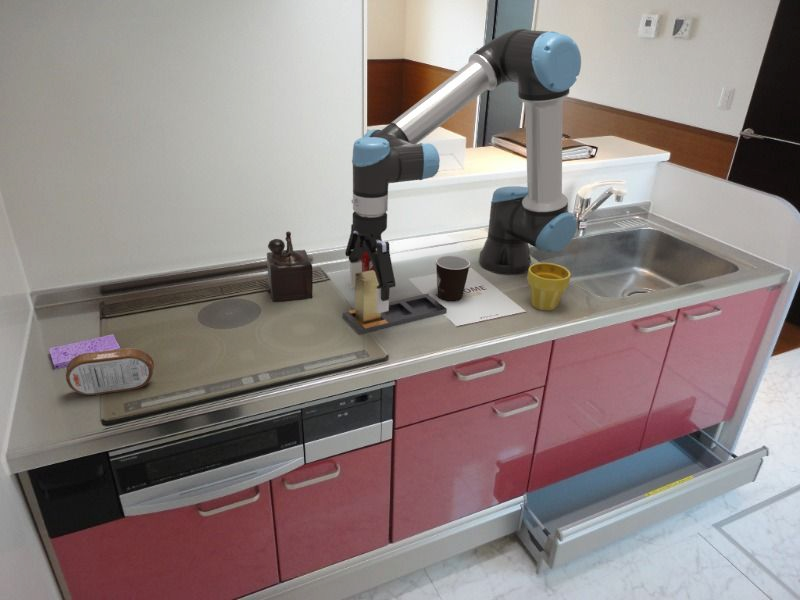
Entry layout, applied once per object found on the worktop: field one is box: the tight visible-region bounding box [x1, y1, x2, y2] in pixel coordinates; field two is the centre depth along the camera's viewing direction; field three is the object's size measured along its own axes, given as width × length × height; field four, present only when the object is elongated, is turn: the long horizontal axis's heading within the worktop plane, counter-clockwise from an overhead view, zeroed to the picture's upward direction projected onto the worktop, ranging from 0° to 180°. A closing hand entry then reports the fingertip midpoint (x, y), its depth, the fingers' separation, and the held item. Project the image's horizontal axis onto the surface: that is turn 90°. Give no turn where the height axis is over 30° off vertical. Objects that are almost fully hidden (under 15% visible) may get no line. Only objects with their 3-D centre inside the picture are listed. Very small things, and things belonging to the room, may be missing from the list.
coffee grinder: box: [266, 231, 314, 302], centre depth 146 cm, size 16×11×18 cm
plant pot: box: [527, 262, 571, 311], centre depth 150 cm, size 10×10×10 cm
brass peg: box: [354, 270, 381, 325], centre depth 136 cm, size 4×4×12 cm
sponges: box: [48, 334, 121, 370], centre depth 123 cm, size 7×13×2 cm, turn 124°
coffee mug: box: [435, 255, 471, 303], centre depth 152 cm, size 12×9×10 cm
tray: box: [342, 293, 448, 336], centre depth 142 cm, size 24×9×2 cm, turn 120°
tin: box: [65, 347, 155, 396], centre depth 111 cm, size 15×3×8 cm, turn 108°
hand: (368, 298), depth 136 cm, fingers open, 13 cm apart
